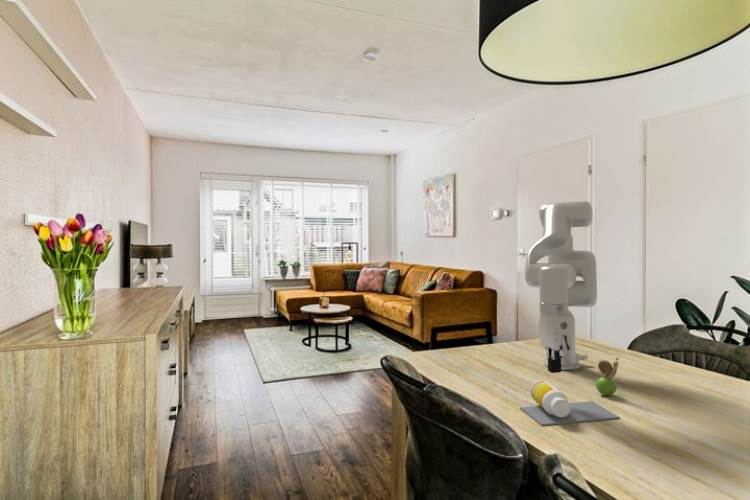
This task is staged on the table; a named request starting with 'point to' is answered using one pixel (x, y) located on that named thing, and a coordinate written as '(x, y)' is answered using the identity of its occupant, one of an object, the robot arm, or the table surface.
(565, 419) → the mat
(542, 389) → the supplement bottle
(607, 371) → the snail figurine
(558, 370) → the robot arm
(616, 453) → the table surface
